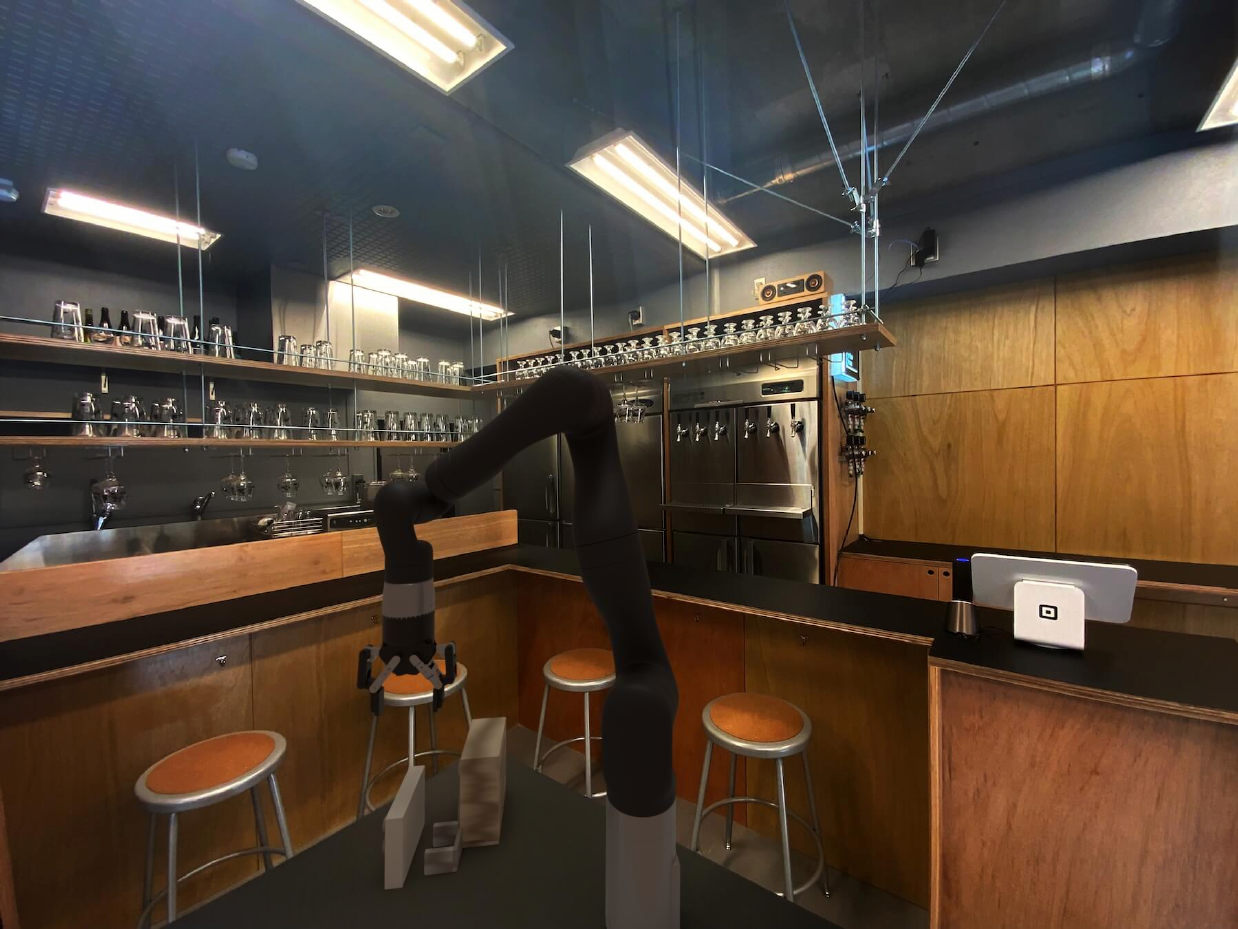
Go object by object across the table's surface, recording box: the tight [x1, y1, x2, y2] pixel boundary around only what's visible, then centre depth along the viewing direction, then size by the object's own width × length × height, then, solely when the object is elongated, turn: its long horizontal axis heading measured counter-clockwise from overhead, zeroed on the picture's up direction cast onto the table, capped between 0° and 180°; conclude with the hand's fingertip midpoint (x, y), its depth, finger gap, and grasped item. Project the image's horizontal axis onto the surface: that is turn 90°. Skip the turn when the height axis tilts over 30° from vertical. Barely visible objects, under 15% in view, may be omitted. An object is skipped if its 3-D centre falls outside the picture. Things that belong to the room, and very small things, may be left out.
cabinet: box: [423, 716, 507, 876], centre depth 78 cm, size 10×16×14 cm, turn 8°
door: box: [381, 764, 426, 890], centre depth 73 cm, size 12×4×10 cm, turn 8°
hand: (408, 712), depth 74 cm, fingers open, 8 cm apart
